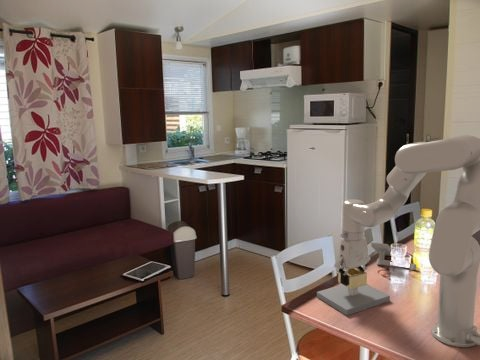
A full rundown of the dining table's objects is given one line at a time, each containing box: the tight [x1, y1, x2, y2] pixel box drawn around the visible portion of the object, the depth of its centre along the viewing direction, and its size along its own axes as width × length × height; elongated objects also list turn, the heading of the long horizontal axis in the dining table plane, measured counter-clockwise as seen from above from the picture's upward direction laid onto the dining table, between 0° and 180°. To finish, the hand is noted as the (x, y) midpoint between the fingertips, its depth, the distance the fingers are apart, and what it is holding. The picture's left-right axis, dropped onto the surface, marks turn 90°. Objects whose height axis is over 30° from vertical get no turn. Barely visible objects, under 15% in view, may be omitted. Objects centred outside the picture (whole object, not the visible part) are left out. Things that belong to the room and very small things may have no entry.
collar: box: [337, 267, 368, 289], centre depth 149 cm, size 7×7×4 cm
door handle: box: [370, 242, 417, 271], centre depth 180 cm, size 18×8×20 cm
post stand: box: [316, 284, 391, 316], centre depth 150 cm, size 16×20×7 cm
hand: (352, 281), depth 149 cm, fingers closed on collar, 7 cm apart
